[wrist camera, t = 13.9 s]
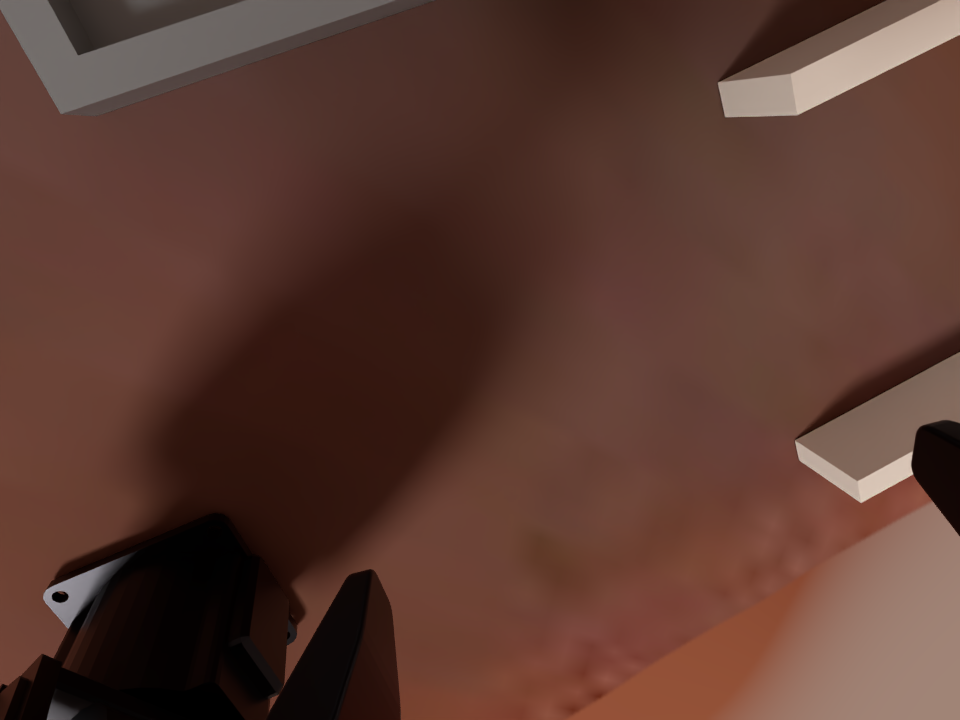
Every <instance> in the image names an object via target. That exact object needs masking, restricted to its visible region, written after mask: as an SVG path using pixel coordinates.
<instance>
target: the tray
mask: <svg viewBox="0 0 960 720" xmlns="http://www.w3.org/2000/svg"><path fill="white" fill-rule="evenodd" d="M432 1H435V0H0V10H1V11H2V13H3V15H4V17H5V18H6V20H7V22H8V24H9V25H10V27H11V29H12V30H13V32H14V34H15V36H16V37H17V39H18V41H19V42H20V44H21V46H22V48H23V49H24V51H25V53H26V55H27V56H28V58H29V60H30V61H31V63H32V65H33V67H34V68H35V70H36V72H37V74H38V75H39V77H40V79H41V80H42V82H43V84H44V86H45V87H46V89H47V91H48V92H49V94H50V96H51V98H52V99H53V101H54V103H55V105H56V106H57V108H58V110H59V111H60V113H61V114H68V115H84V116H99V115H102V114H104V113H107V112H110V111H113V110H116V109H119V108H122V107H125V106H128V105H131V104H134V103H137V102H140V101H142V100H145V99H148V98H151V97H154V96H157V95H160V94H163V93H166V92H169V91H172V90H175V89H178V88H181V87H183V86H186V85H189V84H192V83H195V82H198V81H201V80H204V79H207V78H210V77H213V76H216V75H219V74H221V73H224V72H227V71H230V70H233V69H236V68H239V67H242V66H245V65H248V64H251V63H254V62H257V61H260V60H262V59H265V58H268V57H271V56H274V55H277V54H280V53H283V52H286V51H289V50H292V49H295V48H298V47H300V46H303V45H306V44H309V43H312V42H315V41H318V40H321V39H324V38H327V37H330V36H333V35H336V34H338V33H341V32H344V31H347V30H350V29H353V28H356V27H359V26H362V25H365V24H368V23H371V22H374V21H377V20H379V19H382V18H385V17H388V16H391V15H394V14H397V13H400V12H403V11H406V10H409V9H412V8H415V7H417V6H420V5H423V4H426V3H429V2H432Z"/></svg>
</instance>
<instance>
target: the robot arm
mask: <svg viewBox="0 0 960 720" xmlns="http://www.w3.org/2000/svg"><path fill="white" fill-rule="evenodd" d="M911 468H912V472H913V475H914V477H915V478H916V480H917V481H918V483H919V484H920V485H921V487H922V488H923V489H924V491H925V492H926V493H927V494H928V496H929V497H930V498H931V500H932V501H933V502H934V503H935V505H936V506H937V507H938V509H939V510H940V511H941V513H942V514H943V515H944V516H945V518H946V519H947V520H948V521H949V523H950V524H951V525H952V527H953V528H954V529H955V531H956V532H957V533H958V535H959V536H960V423H958V422H955V421H951V420H940V421H937V422H933V423H929V424H925V425H922V426H920V427H919V428H918V430H917V432H916V436H915V442H914V448H913V454H912V460H911ZM211 526H219V527H220V528H221V530H219V531H213V530H211V529H210V528H209V527H211ZM57 591H64V592H66V593H67V594H66V595H63V594H60V593H58V592H57ZM43 599H44V601H45V603H46V604H47V605H48V606H49V607H50V608H51V610H52V611H53V612H54V613H55V614H56V615H57V616H58V618H59V619H60V620H61V621H62V622H63V623H64V624H65V625H66V627H67V628H68V631H67V633H66V635H65V637H64V639H63V641H62V643H61V645H60V647H59V649H58V651H57V653H56V655H55V657H54V659H53V658H51V657H49V656H46V655H44V654H41V655H40V656H39V657H38V658H37V659H36V660H35V662H34V663H33V664H32V665H31V666H30V667H29V668H28V669H27V670H26V671H25V672H24V673H23V674H22V675H21V676H19V677H18V678H17V679H15V680H14V681H13V682H12V683H11V684H10V685H9V686H7V685H4V684H2V685H1V686H0V720H401V709H400V695H399V683H398V672H397V661H396V649H395V638H394V627H393V616H392V609H391V605H390V602H389V600H388V597H387V595H386V593H385V591H384V589H383V587H382V584H381V582H380V580H379V578H378V576H377V574H376V572H375V571H374V570H371V569H369V570H365V571H361V572H357V573H353V574H351V575H349V576H348V577H347V578H346V580H345V581H344V583H343V585H342V587H341V588H340V590H339V592H338V593H337V595H336V597H335V599H334V600H333V602H332V604H331V606H330V607H329V609H328V611H327V613H326V614H325V616H324V618H323V620H322V621H321V623H320V625H319V627H318V628H317V630H316V632H315V633H314V635H313V637H312V639H311V640H310V642H309V644H308V646H307V647H306V649H305V651H304V653H303V654H302V656H301V658H300V660H299V661H298V663H297V665H296V666H295V668H294V670H293V672H292V673H291V675H290V677H289V679H288V680H287V682H286V684H285V686H284V679H285V664H286V648H287V645H289V644H290V643H292V642H293V641H294V640H295V639H296V636H297V624H296V622H295V620H294V619H293V617H292V616H291V614H290V613H289V600H288V598H287V597H286V595H285V594H284V592H283V591H282V589H281V587H280V586H279V584H278V583H277V581H276V580H275V578H274V576H273V575H272V573H271V572H270V570H269V569H268V567H267V565H266V564H265V562H264V561H263V559H262V558H261V557H260V556H258V555H255V554H252V553H251V552H250V550H249V549H248V547H247V546H246V544H245V542H244V541H243V539H242V538H241V536H240V535H239V533H238V532H237V530H236V528H235V527H234V525H233V524H232V522H231V521H230V519H229V518H228V517H227V516H225V515H223V514H219V513H214V514H210V515H207V516H205V517H202V518H200V519H198V520H195V521H193V522H191V523H188V524H186V525H183V526H181V527H179V528H176V529H174V530H171V531H169V532H167V533H164V534H162V535H159V536H157V537H155V538H152V539H150V540H147V541H145V542H143V543H140V544H138V545H135V546H133V547H131V548H128V549H126V550H124V551H121V552H119V553H116V554H114V555H112V556H109V557H107V558H104V559H102V560H100V561H97V562H95V563H92V564H90V565H88V566H85V567H83V568H80V569H78V570H76V571H73V572H71V573H68V574H66V575H64V576H61V577H59V578H57V579H55V580H53V581H52V582H51V583H50V584H49V586H48V588H47V589H46V591H45V593H44V597H43ZM283 686H284V687H283ZM282 688H283V689H282ZM278 694H279V696H278V698H277V700H276V701H275V703H274V705H273V706H272V708H271V710H270V712H269V707H270V698H272V697H274V696H276V695H278Z"/></svg>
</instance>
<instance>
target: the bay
mask: <svg viewBox="0 0 960 720" xmlns="http://www.w3.org/2000/svg"><path fill="white" fill-rule="evenodd" d="M958 35H960V0H886V1H884V2H882V3H880V4H878V5H876V6H874V7H872V8H870V9H868V10H866V11H864V12H862V13H860V14H857V15H855V16H853V17H851V18H849V19H847V20H845V21H843V22H841V23H839V24H837V25H835V26H833V27H831V28H829V29H827V30H825V31H823V32H821V33H818V34H816V35H814V36H812V37H810V38H808V39H806V40H804V41H802V42H800V43H798V44H796V45H794V46H792V47H790V48H788V49H786V50H784V51H782V52H779V53H777V54H775V55H773V56H771V57H769V58H767V59H765V60H763V61H761V62H759V63H757V64H755V65H753V66H751V67H749V68H747V69H745V70H743V71H740V72H738V73H736V74H734V75H732V76H730V77H728V78H726V79H724V80H722V81H720V82H718V86H719V91H720V95H721V100H722V105H723V109H724V114H725V117H754V116H788V115H799V114H801V113H803V112H805V111H807V110H809V109H811V108H813V107H815V106H817V105H819V104H821V103H823V102H825V101H827V100H829V99H831V98H833V97H835V96H837V95H839V94H841V93H843V92H845V91H847V90H849V89H851V88H853V87H855V86H857V85H859V84H861V83H863V82H865V81H867V80H869V79H871V78H873V77H875V76H877V75H879V74H881V73H883V72H885V71H887V70H890V69H892V68H894V67H896V66H898V65H900V64H902V63H904V62H906V61H908V60H910V59H912V58H914V57H916V56H918V55H920V54H922V53H924V52H926V51H928V50H930V49H932V48H934V47H936V46H938V45H940V44H942V43H944V42H946V41H948V40H950V39H952V38H954V37H956V36H958ZM940 420H951V421H955V422H958V423H960V352H959V353H957V354H955V355H953V356H951V357H949V358H947V359H946V360H944V361H942V362H940V363H938V364H936V365H934V366H932V367H931V368H929V369H927V370H925V371H923V372H921V373H919V374H918V375H916V376H914V377H912V378H910V379H908V380H906V381H905V382H903V383H901V384H899V385H897V386H895V387H893V388H891V389H890V390H888V391H886V392H884V393H882V394H880V395H878V396H877V397H875V398H873V399H871V400H869V401H867V402H865V403H864V404H862V405H860V406H858V407H856V408H854V409H852V410H850V411H849V412H847V413H845V414H843V415H841V416H839V417H837V418H836V419H834V420H832V421H830V422H828V423H826V424H824V425H823V426H821V427H819V428H817V429H815V430H813V431H811V432H809V433H808V434H806V435H804V436H802V437H800V438H798V439H796V440H795V443H796V448H797V453H798V457H799V460H800V461H801V462H802V463H804V464H805V465H807V466H808V467H810V468H811V469H813V470H814V471H816V472H817V473H818V474H820V475H821V476H823V477H824V478H826V479H827V480H829V481H830V482H831V483H833V484H834V485H836V486H837V487H839V488H840V489H842V490H843V491H844V492H846V493H847V494H849V495H850V496H852V497H853V498H855V499H856V500H858V501H859V502H860V503H862V502H864V501H865V500H867V499H869V498H871V497H873V496H875V495H876V494H878V493H880V492H882V491H884V490H886V489H887V488H889V487H891V486H893V485H895V484H896V483H898V482H900V481H902V480H904V479H906V478H907V477H909V476H911V475H913V472H912V468H911V460H912V454H913V448H914V442H915V436H916V432H917V430H918V428H919V427H920V426H922V425H925V424H929V423H933V422H937V421H940Z"/></svg>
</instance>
